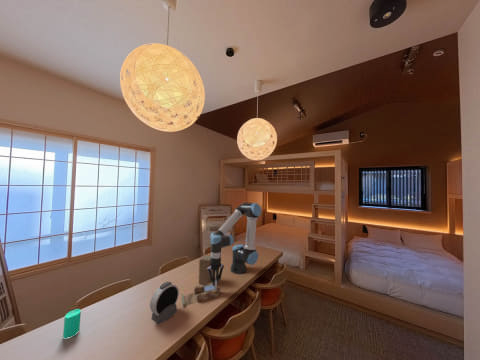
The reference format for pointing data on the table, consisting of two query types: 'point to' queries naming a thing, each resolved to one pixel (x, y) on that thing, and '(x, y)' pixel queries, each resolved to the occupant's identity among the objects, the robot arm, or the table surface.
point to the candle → (71, 323)
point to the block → (209, 288)
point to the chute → (199, 295)
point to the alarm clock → (164, 302)
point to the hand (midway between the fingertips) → (215, 289)
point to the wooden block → (205, 269)
